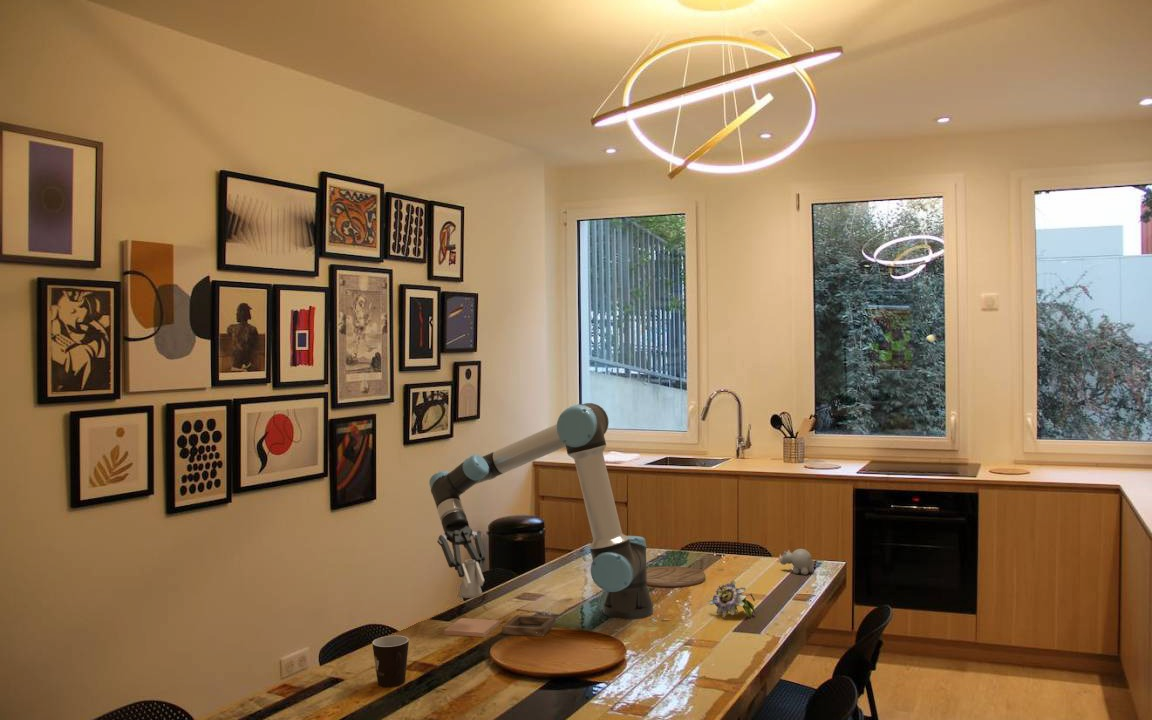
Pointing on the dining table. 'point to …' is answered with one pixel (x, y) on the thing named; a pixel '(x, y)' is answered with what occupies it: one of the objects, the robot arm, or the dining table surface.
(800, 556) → the chubby cartoon animal
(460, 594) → the flask
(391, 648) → the coffee mug
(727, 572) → the dining table surface
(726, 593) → the passion flower
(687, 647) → the dining table surface
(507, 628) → the walnut holder
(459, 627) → the terracotta coaster
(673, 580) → the trivet
